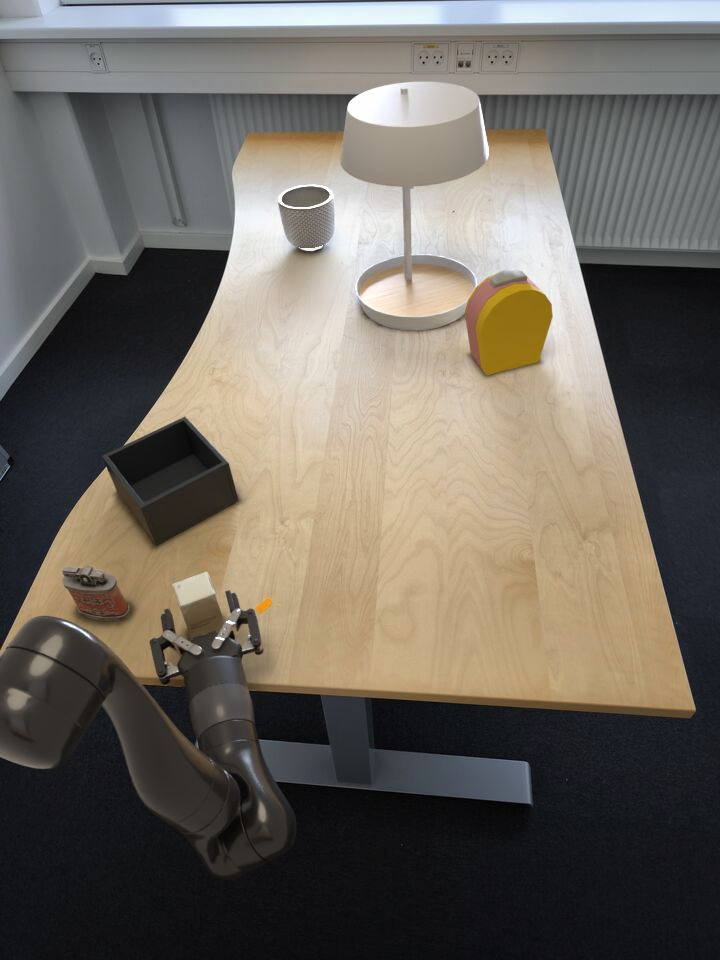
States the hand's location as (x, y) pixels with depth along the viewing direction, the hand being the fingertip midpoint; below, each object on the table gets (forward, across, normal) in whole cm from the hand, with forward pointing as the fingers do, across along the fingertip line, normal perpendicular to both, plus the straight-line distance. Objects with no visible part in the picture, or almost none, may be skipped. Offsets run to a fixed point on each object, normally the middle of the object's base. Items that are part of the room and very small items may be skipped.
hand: (198, 603), depth 102 cm
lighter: (+9, +14, +7) cm, 18 cm away
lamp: (+71, -61, +7) cm, 94 cm away
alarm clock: (+43, -69, +7) cm, 81 cm away
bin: (+29, 0, +6) cm, 30 cm away
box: (-1, 0, +7) cm, 7 cm away
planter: (+107, -46, +7) cm, 116 cm away
